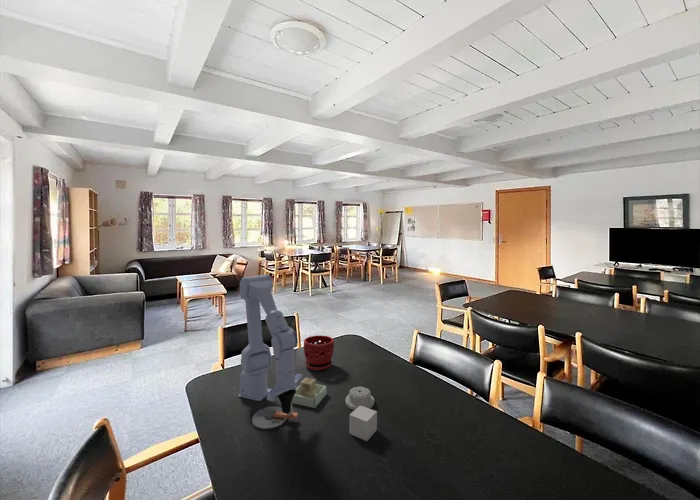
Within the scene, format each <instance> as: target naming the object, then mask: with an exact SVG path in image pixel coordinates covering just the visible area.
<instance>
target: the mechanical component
mask: <svg viewBox="0 0 700 500" xmlns="http://www.w3.org/2000/svg"><path fill="white" fill-rule="evenodd" d="M344 402H345V405H346V407H347V408H348V409H350V410H352V411H354V410H355V409H356V408H358V407H359V406H360V405H361V406H363V407H366V408H369V409H372V408H373V407H374V405H375V398H374V396H372V395H371V390H370V389H369V388H366V387H365V386H359V385H358V386H357V387H355V386H354V387H353V388H350V389H349V391H348V395H347V396H346V397H345V401H344Z"/></svg>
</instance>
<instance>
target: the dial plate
mask: <svg viewBox="0 0 700 500" xmlns="http://www.w3.org/2000/svg"><path fill="white" fill-rule="evenodd" d="M268 407H269V406H267V407H264V408H261V409H259V410H257V411H256V412H255V413H254V414H253V416H252V418H251V422H252V426H253V427H255V428H256V429H259V430H264V431H265V430H266V431H267V430H273V429H276V428H279V427H281V426H283V425H284V424H285V423H286V421H288V418H280V417H274V418H272V419H266V418H265V417H264V410H265V409H266V408H268ZM272 407H274V408H275V409H276V411H282V406H281V407H280V406H272Z"/></svg>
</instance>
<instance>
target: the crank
mask: <svg viewBox="0 0 700 500" xmlns="http://www.w3.org/2000/svg"><path fill="white" fill-rule="evenodd" d="M267 407H268V408H266V407H265V408H266V409H265V410H264V417H265V418H266V419H272V418H274V417H280V418H287V419H293V420H297V419H298V416H299V413H298V412H295V411H293V403H292V402H291V410H290V413H289V414H286V413H283V412H282V411H276V409H275V408H274V407H273V406H267Z"/></svg>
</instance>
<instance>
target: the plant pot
mask: <svg viewBox="0 0 700 500" xmlns="http://www.w3.org/2000/svg"><path fill="white" fill-rule="evenodd" d="M315 343H316V344H315ZM334 348H335V339H334V338H333V337H331V336H329V335H311V336H308V337H306V338H304V340H303V352H304V357H305V360H306V361H305V363H304V364H305V366H306V368H308V369H309V370H312V371H323V370H327V369H329V368H330V367H331V366H332V364H333V362H332V361H333V360H332V358H333V356H334V355H333V354H334V351H335V350H334Z"/></svg>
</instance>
